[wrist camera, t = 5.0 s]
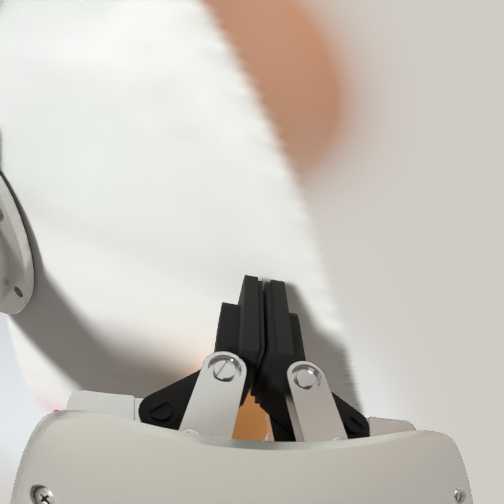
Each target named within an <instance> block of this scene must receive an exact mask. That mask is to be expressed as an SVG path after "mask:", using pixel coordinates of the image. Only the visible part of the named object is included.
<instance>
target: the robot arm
mask: <svg viewBox="0 0 504 504" xmlns="http://www.w3.org/2000/svg"><path fill="white" fill-rule="evenodd" d="M33 288H34V268H33V262H32V255H31V250H30V247H29V243H28V239H27V235H26V232H25V229H24V226H23V223H22V220H21V216H20V214H19V212H18V209H17V207H16V204H15V202H14V199H13V197H12V195H11V193H10V191H9V189H8V187H7V185H6V183H5V182H4V180H3V178H2V177H1V175H0V312H3V313H6V314H17V313H18V312H20V311H22V309H23V308H24V307H25V306H26V304H27V303H28V302H29V301H30V298H31V296H32V294H33ZM249 390H250V395H251V396H255V403H256V404H260V407H261V408H262V409H263V410H264V411H265V421H266V427H267V432H268V437H269V441H252V440H240V439H231V438H232V434H233V429H234V425H235V421H236V417H237V412H238V408H239V407H241V406H242V405H243V404H244V402H245V399H246V397H247V395H248V392H249ZM10 504H473V500H472V495H471V490H470V485H469V480H468V477H467V473H466V470H465V466H464V463H463V460H462V457H461V455H460V452H459V450H458V448H457V446H456V444H455V443H454V441H453V440H452V439H451V438H450V437H449V436H447V435H445V434H442V433H439V432H434V431H428V430H416V429H415V427H414V426H413V424H411V423H410V422H408V421H403V420H392V419H383V418H376V417H369V418H368V419H366V418H365V417H364V416H363V415H362V414H361V413H359V412H358V411H357V410H355V409H354V408H353V407H351V406H350V405H348V404H347V403H346V402H344V401H343V400H342V399H340V398H339V397H338V396H336V395H335V394H334V393H333V392H331V390H330V388H329V385H328V382H327V380H326V377H325V375H324V373H323V371H322V370H321V369H320V368H319V367H318V366H317V365H315V364H313V363H311V362H308V361H306V360H305V354H304V348H303V342H302V336H301V330H300V324H299V319H298V315H297V314H293V313H289V311H288V304H287V297H286V290H285V284H284V282H282V281H276V280H271V281H270V283H268V282H266V283H265V285H264V289H263V285H262V281H258V277H254V276H248V275H245V277H244V280H243V285H242V289H241V293H240V297H239V301H238V305H235V304H229V303H224V302H222V306H221V312H220V317H219V323H218V329H217V336H216V343H215V350H214V353H213V354H211V355H209V356H208V357H207V358H206V359H205V361H204V363H203V366H202V369H201V370H199V371H197V372H195V373H193V374H191V375H189V376H187V377H185V378H183V379H181V380H180V381H178V382H176V383H174V384H172V385H170V386H167V387H165V388H163V389H161V390H159V391H157V392H155V393H153V394H151V395H149V396H147V397H146V398H134V396H133V395H121V394H111V393H102V392H94V391H87V390H80V391H77V392H75V393H73V394H72V395H71V396H70V398H69V400H68V404H67V410H62V411H55V412H52V413H49V414H47V415H46V416H45V417H43V418H42V419H41V420H40V422H39V423H38V424H37V426H36V427H35V429H34V430H33V433H32V434H31V436H30V438H29V440H28V443H27V445H26V447H25V450H24V452H23V455H22V458H21V461H20V465H19V468H18V471H17V475H16V479H15V483H14V488H13V492H12V497H11V503H10Z"/></svg>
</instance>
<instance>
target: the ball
mask: <svg viewBox="0 0 504 504" xmlns="http://www.w3.org/2000/svg"><path fill="white" fill-rule="evenodd" d="M266 434H267V427H266V421H265V411H264V410H263V409H262V408H261V407H260V404H256V403H255V396H251V395H250V390H249V392H248V395H247V397H246V399H245V402H244V404H243V405H242V406H241V407H239V408H238V412H237V417H236V421H235V425H234V429H233V434H232V438H231V439H240V440H252V441H264V439H265V437H266Z"/></svg>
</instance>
